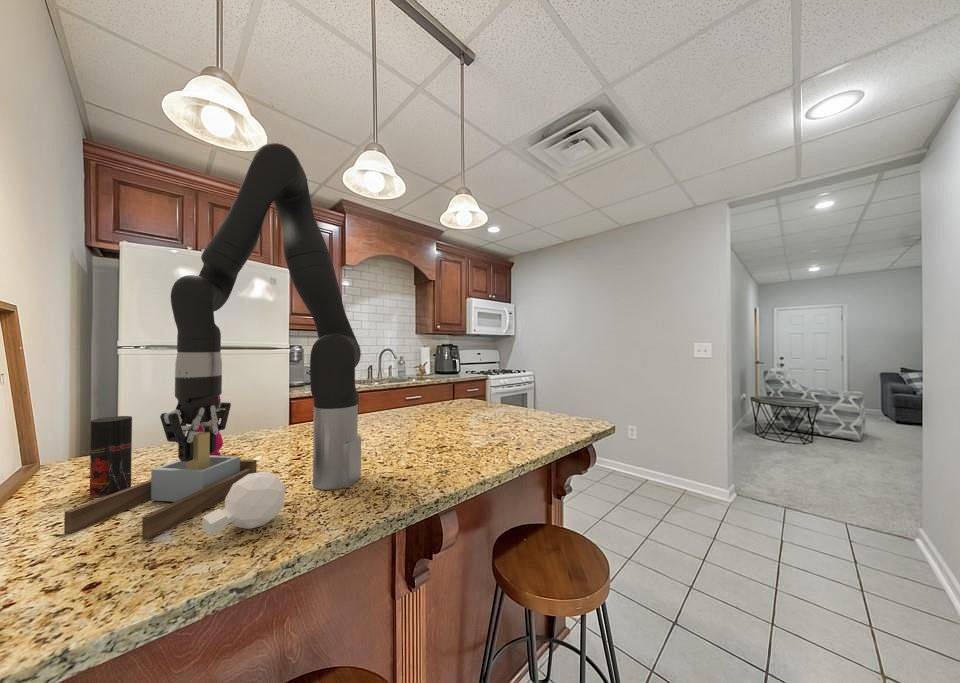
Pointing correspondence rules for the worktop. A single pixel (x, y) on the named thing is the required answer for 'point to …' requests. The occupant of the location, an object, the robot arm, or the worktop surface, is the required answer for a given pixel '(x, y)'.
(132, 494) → the bay
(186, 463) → the box
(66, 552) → the worktop surface
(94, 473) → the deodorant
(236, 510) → the perfume bottle
